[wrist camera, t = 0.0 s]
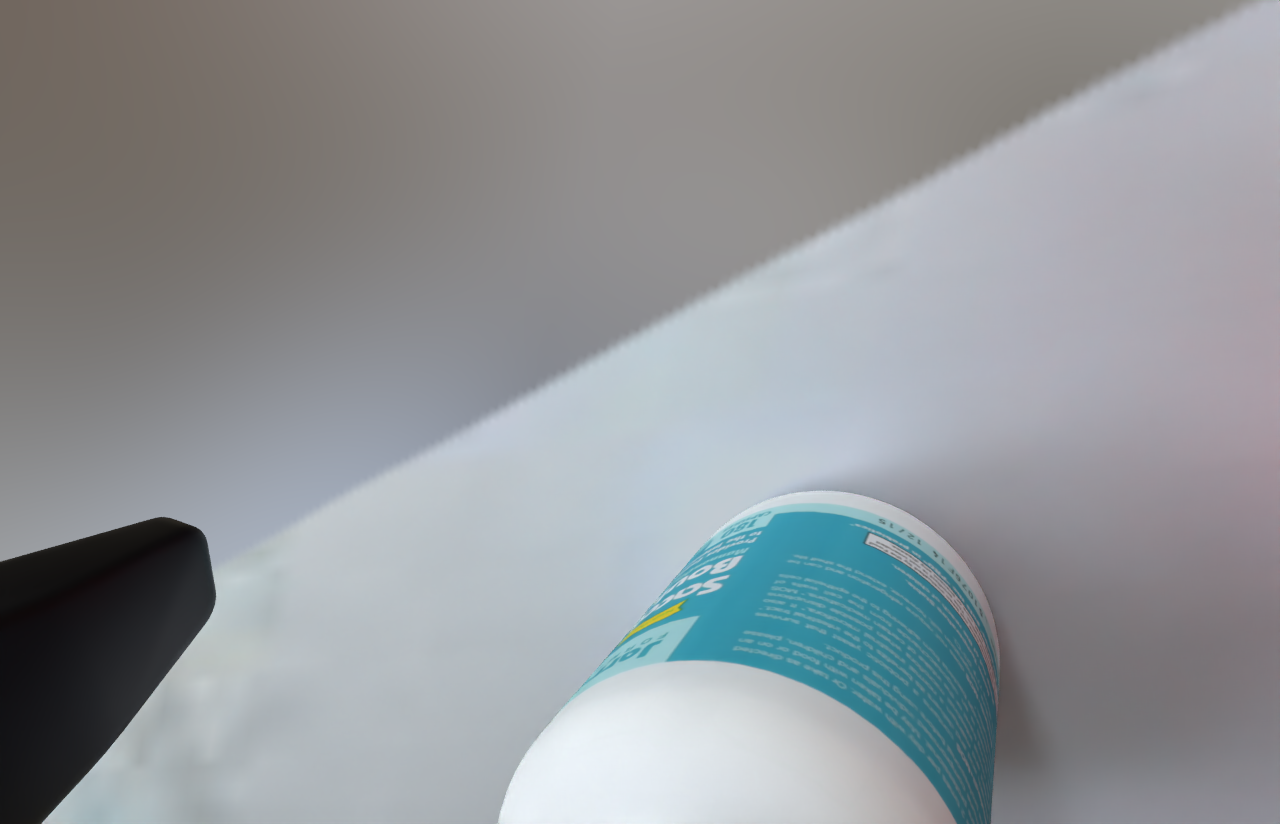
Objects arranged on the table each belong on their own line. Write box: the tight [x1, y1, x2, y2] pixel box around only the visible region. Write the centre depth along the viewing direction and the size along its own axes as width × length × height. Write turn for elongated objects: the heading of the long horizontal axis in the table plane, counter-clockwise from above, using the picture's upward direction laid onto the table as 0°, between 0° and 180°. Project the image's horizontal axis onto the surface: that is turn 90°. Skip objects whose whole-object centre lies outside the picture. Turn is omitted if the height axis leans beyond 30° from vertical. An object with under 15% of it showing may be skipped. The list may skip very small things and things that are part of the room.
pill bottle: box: [498, 491, 1000, 824], centre depth 18 cm, size 8×7×14 cm
